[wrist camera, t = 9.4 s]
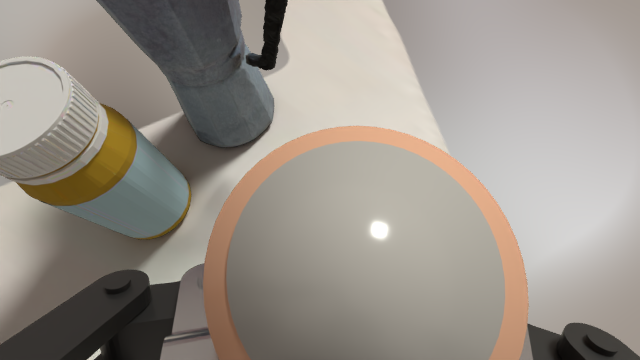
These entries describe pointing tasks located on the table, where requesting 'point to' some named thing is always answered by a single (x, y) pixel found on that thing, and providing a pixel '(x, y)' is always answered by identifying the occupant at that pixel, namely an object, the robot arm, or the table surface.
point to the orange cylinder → (363, 256)
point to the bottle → (84, 153)
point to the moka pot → (207, 61)
